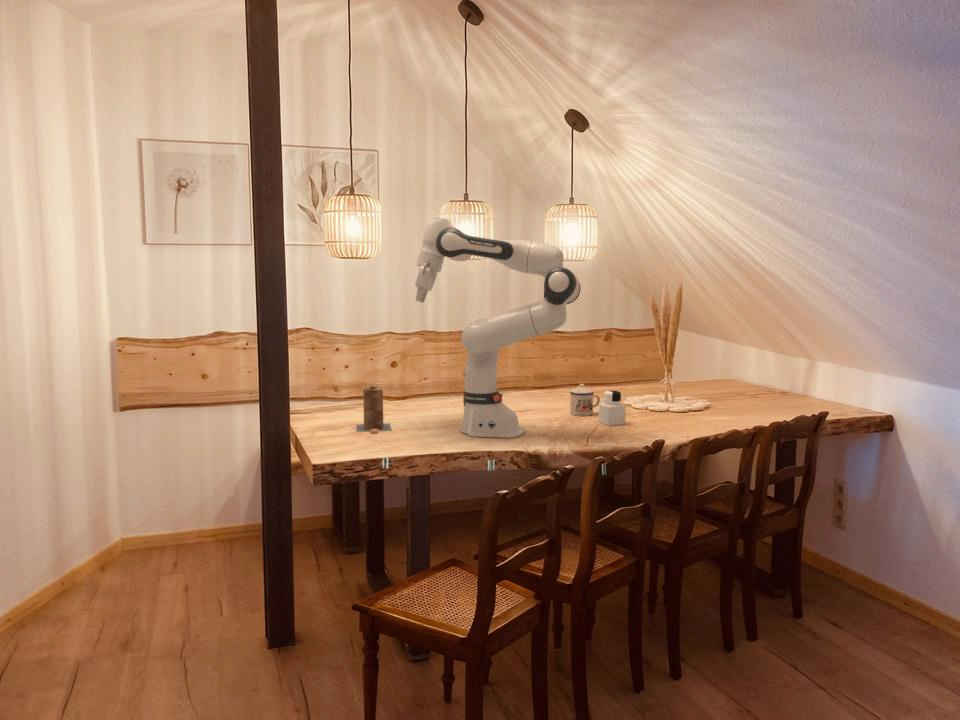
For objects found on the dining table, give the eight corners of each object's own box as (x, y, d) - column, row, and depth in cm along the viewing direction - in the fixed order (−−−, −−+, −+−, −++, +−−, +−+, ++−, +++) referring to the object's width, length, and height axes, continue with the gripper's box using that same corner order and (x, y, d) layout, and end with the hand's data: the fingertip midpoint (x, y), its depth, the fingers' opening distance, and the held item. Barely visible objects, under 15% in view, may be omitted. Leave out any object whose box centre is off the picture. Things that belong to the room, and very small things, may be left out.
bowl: (379, 433, 282) (379, 428, 282) (376, 435, 279) (376, 430, 279) (372, 432, 283) (372, 428, 282) (369, 434, 280) (369, 429, 280)
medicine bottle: (615, 420, 303) (616, 389, 301) (625, 424, 296) (626, 392, 294) (598, 422, 300) (599, 390, 299) (608, 426, 294) (609, 393, 292)
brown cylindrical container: (382, 425, 293) (381, 383, 291) (383, 429, 287) (382, 386, 284) (363, 425, 292) (363, 383, 290) (364, 429, 285) (363, 387, 283)
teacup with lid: (574, 416, 310) (575, 386, 308) (566, 412, 318) (566, 382, 317) (604, 415, 313) (604, 385, 311) (594, 410, 321) (595, 381, 320)
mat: (389, 424, 296) (389, 423, 296) (391, 431, 284) (391, 430, 284) (356, 425, 294) (356, 424, 294) (356, 432, 282) (356, 431, 282)
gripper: (435, 263, 276) (424, 302, 277) (441, 268, 297) (431, 305, 298) (417, 258, 277) (407, 298, 277) (424, 263, 297) (414, 300, 298)
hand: (419, 301), depth 288 cm, fingers open, 8 cm apart
